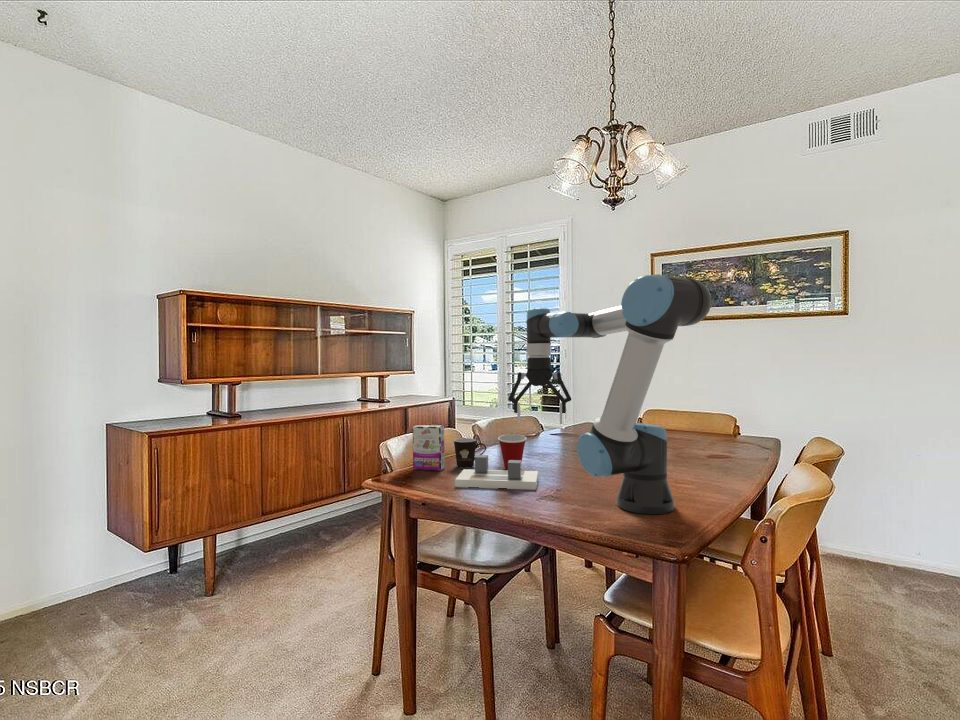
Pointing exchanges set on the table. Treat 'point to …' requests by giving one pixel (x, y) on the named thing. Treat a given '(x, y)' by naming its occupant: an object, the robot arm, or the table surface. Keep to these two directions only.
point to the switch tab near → (514, 469)
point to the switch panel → (496, 479)
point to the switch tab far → (481, 463)
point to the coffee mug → (466, 451)
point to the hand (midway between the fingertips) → (539, 423)
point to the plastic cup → (512, 447)
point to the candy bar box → (428, 447)
